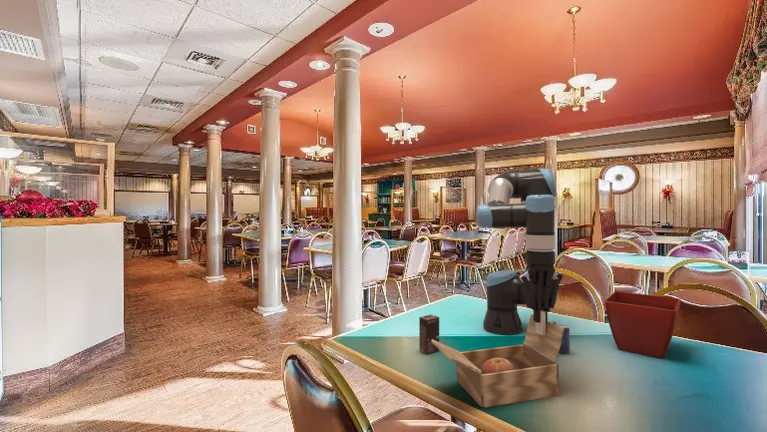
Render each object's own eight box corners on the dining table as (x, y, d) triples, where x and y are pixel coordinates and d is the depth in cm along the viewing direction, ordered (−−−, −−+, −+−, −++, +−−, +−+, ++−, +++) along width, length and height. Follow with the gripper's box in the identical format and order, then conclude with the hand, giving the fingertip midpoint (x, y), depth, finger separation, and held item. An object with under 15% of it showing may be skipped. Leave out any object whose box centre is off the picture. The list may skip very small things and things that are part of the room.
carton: (524, 370, 108) (523, 344, 108) (559, 395, 94) (558, 364, 94) (456, 380, 104) (456, 352, 103) (482, 407, 89) (481, 375, 89)
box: (427, 355, 122) (426, 320, 122) (419, 351, 126) (418, 316, 126) (440, 350, 125) (439, 316, 125) (432, 347, 129) (431, 313, 129)
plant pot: (681, 346, 123) (681, 297, 123) (677, 365, 109) (676, 310, 109) (616, 334, 136) (615, 290, 136) (604, 350, 122) (603, 300, 122)
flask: (569, 352, 121) (568, 320, 121) (570, 355, 118) (569, 323, 118) (539, 348, 125) (539, 318, 124) (540, 352, 122) (539, 320, 122)
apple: (512, 400, 92) (511, 369, 92) (478, 391, 97) (477, 362, 97) (519, 385, 100) (518, 356, 99) (487, 378, 104) (486, 351, 104)
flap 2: (554, 361, 94) (562, 328, 95) (523, 343, 107) (530, 314, 108) (556, 362, 94) (564, 328, 95) (525, 344, 107) (533, 314, 108)
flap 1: (458, 350, 103) (432, 339, 101) (481, 371, 90) (451, 358, 88) (457, 353, 103) (430, 341, 101) (480, 374, 90) (450, 360, 88)
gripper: (551, 248, 106) (551, 327, 106) (512, 249, 103) (512, 331, 103) (569, 250, 98) (569, 336, 99) (528, 252, 96) (528, 340, 96)
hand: (540, 333), depth 101 cm, fingers closed
